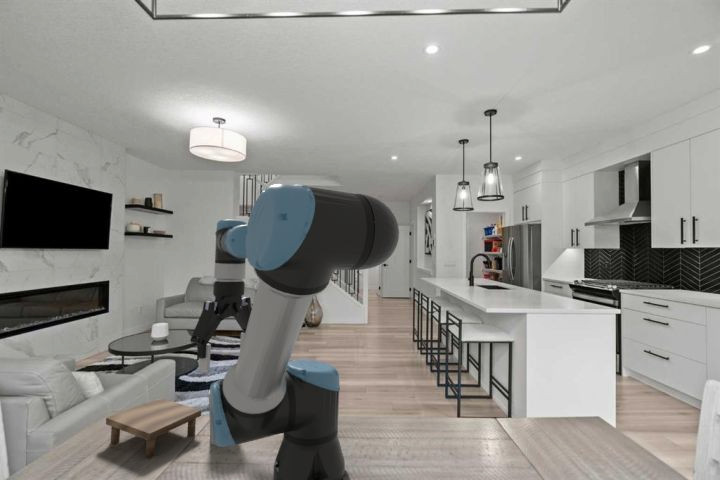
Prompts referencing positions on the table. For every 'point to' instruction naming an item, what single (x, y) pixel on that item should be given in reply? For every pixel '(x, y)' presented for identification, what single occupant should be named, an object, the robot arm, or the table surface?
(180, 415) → the low wooden table
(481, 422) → the table surface
